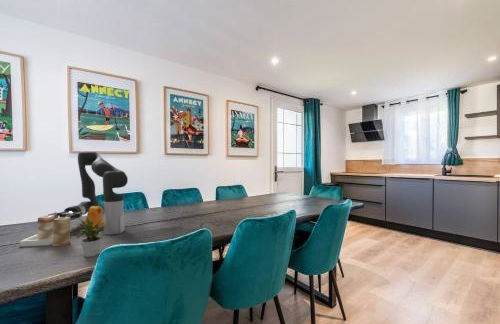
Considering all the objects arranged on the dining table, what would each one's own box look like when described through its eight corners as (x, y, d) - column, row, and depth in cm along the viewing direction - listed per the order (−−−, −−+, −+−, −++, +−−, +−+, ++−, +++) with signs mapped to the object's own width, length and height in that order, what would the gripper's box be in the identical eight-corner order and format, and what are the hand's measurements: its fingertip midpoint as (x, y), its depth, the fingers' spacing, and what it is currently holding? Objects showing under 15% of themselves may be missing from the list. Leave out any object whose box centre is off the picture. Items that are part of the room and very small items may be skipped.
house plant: (56, 261, 89) (56, 218, 89) (84, 248, 103) (84, 211, 103) (92, 262, 88) (92, 219, 88) (115, 248, 102) (115, 211, 102)
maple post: (54, 237, 114) (55, 215, 114) (48, 240, 109) (48, 217, 109) (44, 238, 113) (44, 215, 113) (37, 241, 109) (37, 217, 109)
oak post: (70, 242, 110) (70, 216, 110) (64, 245, 105) (64, 219, 105) (59, 242, 109) (59, 217, 109) (53, 246, 104) (53, 219, 104)
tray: (69, 236, 119) (69, 231, 119) (52, 245, 106) (52, 239, 106) (40, 237, 117) (40, 232, 117) (19, 246, 104) (19, 241, 104)
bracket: (95, 229, 131) (95, 208, 131) (84, 228, 132) (84, 207, 132) (109, 224, 142) (110, 204, 142) (99, 223, 143) (99, 204, 143)
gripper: (61, 205, 134) (41, 211, 118) (88, 205, 136) (72, 210, 120) (60, 218, 133) (40, 226, 118) (88, 217, 136) (72, 225, 120)
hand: (56, 218), depth 119 cm, fingers open, 8 cm apart
